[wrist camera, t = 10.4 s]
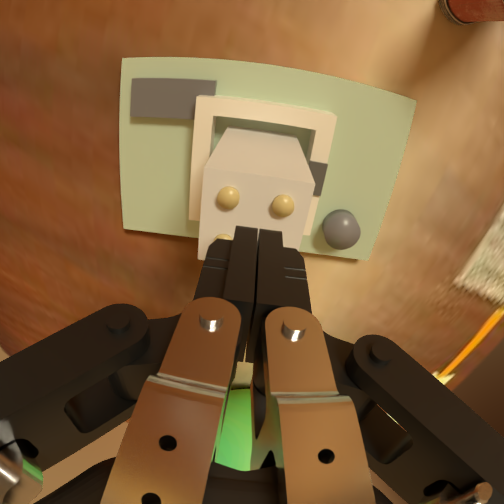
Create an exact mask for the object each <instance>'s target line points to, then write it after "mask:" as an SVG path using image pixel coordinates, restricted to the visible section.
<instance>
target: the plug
mask: <svg viewBox="0 0 504 504" xmlns="http://www.w3.org/2000/svg"><path fill="white" fill-rule="evenodd" d="M314 188H315V182H314V179H313V176H312V174H311V171H310V169H309V166H308V164H307V161H306V158H305V156H304V153H303V151H302V148H301V146H300V144H299V141H298V139H297V136H296V135H291V134H285V133H279V132H273V131H267V130H260V129H253V128H246V127H238V126H230V125H229V126H228V127H227V129H226V131H225V132H224V134H223V136H222V137H221V139H220V141H219V142H218V144H217V146H216V148H215V149H214V151H213V153H212V154H211V156H210V158H209V160H208V161H207V163H206V165H205V167H204V175H203V187H202V199H201V213H200V228H199V245H198V259H199V260H205V257H206V253H207V250H208V246H209V245H210V244H212V243H213V242H214V241H215V240H216V239H217V238H220V239H227V240H233V238H234V233H235V227H236V225H237V226H245V227H252V228H258V234H259V229H268V230H275V231H282V236H283V247H288V248H296V249H297V250H298V251H299V248H300V244H301V240H302V236H303V232H304V228H305V224H306V220H307V216H308V212H309V208H310V204H311V200H312V196H313V192H314ZM257 240H258V238H257Z"/></svg>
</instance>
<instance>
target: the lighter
mask: <svg viewBox="0 0 504 504" xmlns="http://www.w3.org/2000/svg"><path fill="white" fill-rule="evenodd" d="M439 5H440V8H441V10H442V12H443V14H444V15H445V16H446V18H447V19H448V20H449V21H451V22H452V23H454V24H456V25H470V24H473V23H477V22H481V21H504V0H439Z"/></svg>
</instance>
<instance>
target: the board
mask: <svg viewBox="0 0 504 504" xmlns="http://www.w3.org/2000/svg"><path fill="white" fill-rule="evenodd" d="M416 103H417V100H414V99H411V98H408V97H405V96H402V95H399V94H396V93H393V92H390V91H386V90H383V89H380V88H376V87H373V86H369V85H366V84H362V83H358V82H354V81H350V80H346V79H342V78H338V77H334V76H329V75H325V74H320V73H315V72H310V71H305V70H300V69H294V68H288V67H282V66H275V65H268V64H261V63H253V62H244V61H234V60H223V59H208V58H186V57H141V58H122V68H121V86H120V117H119V149H120V181H121V200H122V214H123V226H124V229H130V230H138V231H146V232H154V233H162V234H170V235H178V236H185V237H193V238H199V228H200V213H201V199H202V187H203V175H204V167H205V165H206V163H207V161H208V160H209V158H210V156H211V154H212V153H213V151H214V149H215V148H216V146H217V144H218V142H219V141H220V139H221V137H222V136H223V134H224V132H225V131H226V129H227V127H228V126H229V125H230V126H238V127H246V128H253V129H260V130H267V131H273V132H279V133H285V134H291V135H296V136H297V139H298V141H299V144H300V146H301V148H302V151H303V153H304V156H305V158H306V161H307V164H308V166H309V169H310V171H311V174H312V176H313V179H314V182H315V188H314V192H313V196H312V200H311V204H310V208H309V212H308V216H307V220H306V224H305V228H304V232H303V236H302V240H301V244H300V248H299V251H300V252H307V253H315V254H322V255H330V256H337V257H344V258H352V259H359V260H366V261H368V260H369V257H370V254H371V252H372V249H373V246H374V244H375V241H376V238H377V235H378V233H379V230H380V227H381V224H382V221H383V218H384V215H385V212H386V209H387V206H388V203H389V200H390V197H391V194H392V191H393V188H394V185H395V182H396V178H397V175H398V172H399V168H400V165H401V161H402V158H403V154H404V151H405V147H406V143H407V140H408V136H409V132H410V128H411V124H412V120H413V116H414V112H415V108H416Z"/></svg>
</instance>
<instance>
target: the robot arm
mask: <svg viewBox="0 0 504 504" xmlns="http://www.w3.org/2000/svg"><path fill="white" fill-rule="evenodd" d="M257 238H258V240H257ZM246 342H247V345H246ZM245 348H246V359H245V362H249V363H253V376H252V380H251V384H250V395H251V424H252V451H251V460H250V471H240V470H236V469H233V468H230V467H227V466H225V465H222V464H219V463H216V461H217V456H218V450H219V444H220V439H221V434H222V429H223V424H224V419H225V414H226V409H227V404H228V399H229V394H230V389H231V384H232V382H233V380H234V378H235V374H236V368H237V362H238V361H239V362H243V359H244V353H245ZM377 404H378V405H379V406H380V407H381V408H382V409H383V410H384V411H385V412H387V413H388V414H389V415H390V416H391V417H392V418H393V419H394V420H395V421H396V422H397V423H398V424H400V425H401V426H402V427H403V428H404V429H405V430H406V431H407V432H406V431H405V430H404V429H402V428H401V427H400V426H399V425H398V424H397V423H396V422H395V421H394V420H393V419H392V418H391V417H389V416H388V415H387V414H386V413H385V412H384V411H383V410H382V409H381V408H380V407H379V406H378V405H377ZM130 417H131V419H130V421H129V424H128V427H127V429H126V432H125V435H124V437H123V440H122V443H121V445H120V448H119V451H118V454H117V456H116V457H114V458H110V459H108V460H104V461H102V462H100V463H98V464H96V465H94V466H92V467H90V468H89V469H87V470H86V471H84V472H83V473H81V474H80V475H78V476H77V477H76V478H74V479H72V480H71V481H69V482H68V483H66V484H64V485H63V486H61V487H60V488H58V489H57V490H55V491H54V492H52V493H50V494H49V495H47V496H46V497H44V498H42V499H40V500H39V501H37V502H36V503H34V504H393V503H392V502H391V501H390V500H389V499H388V498H387V497H386V496H385V495H384V494H383V493H382V492H381V491H380V490H378V489H377V488H376V487H374V486H373V485H372V481H371V476H370V471H369V468H370V469H371V470H372V471H374V472H375V473H376V474H377V475H378V476H379V477H380V478H381V479H382V480H383V481H384V482H385V483H386V484H387V485H388V486H389V487H391V488H392V489H393V490H394V491H395V492H396V493H397V494H398V495H399V496H400V497H402V498H403V499H404V500H405V501H406V502H407V503H408V504H504V438H503V437H502V436H501V435H500V434H499V433H498V432H496V430H494V429H493V428H492V427H491V426H490V425H489V424H487V422H485V421H484V420H483V419H482V418H481V417H480V416H479V415H478V414H476V413H475V412H474V411H473V410H472V409H471V408H470V407H469V406H467V405H466V404H465V403H464V402H463V401H462V400H460V399H459V398H458V397H457V396H456V395H455V394H454V393H452V392H451V391H450V390H449V389H448V388H447V387H446V386H444V385H443V384H442V383H441V382H440V381H439V380H438V379H436V378H435V377H434V376H433V375H432V374H431V373H429V372H428V371H427V370H426V369H425V368H424V367H422V366H421V365H420V364H419V363H418V362H417V361H415V360H414V359H413V358H412V357H411V356H410V355H408V354H407V353H406V352H405V351H404V350H402V349H401V348H400V347H399V346H398V345H397V344H395V343H394V342H393V341H391V340H390V339H388V338H386V337H383V336H380V335H366V336H363V337H361V338H359V339H358V340H357V342H356V343H355V344H352V343H349V342H346V341H343V340H340V339H337V338H334V337H332V336H330V335H328V334H327V333H325V332H324V331H323V330H322V326H321V324H320V322H319V321H318V319H317V318H316V317H315V316H314V315H312V311H311V303H310V296H309V289H308V283H307V276H306V271H305V263H304V258H303V257H302V256H301V254H300V253H299V252H298V250H297V249H296V248H288V247H283V236H282V231H275V230H268V229H259V234H258V228H252V227H245V226H237V225H236V227H235V233H234V238H233V240H227V239H220V238H217V239H216V240H215V241H214V242H213V243H212V244H210V245H209V246H208V250H207V253H206V257H205V260H204V264H203V267H202V271H201V274H200V278H199V281H198V285H197V288H196V292H195V296H194V299H193V301H192V302H190V303H189V304H187V305H186V307H185V308H184V310H183V312H182V313H181V314H179V315H176V316H173V317H169V318H161V319H150V320H147V317H146V315H145V314H144V312H143V311H142V310H140V309H139V308H137V307H135V306H133V305H129V304H113V305H110V306H107V307H105V308H103V309H101V310H99V311H97V312H95V313H93V314H91V315H89V316H87V317H85V318H83V319H81V320H79V321H77V322H75V323H73V324H71V325H70V326H68V327H66V328H64V329H62V330H60V331H58V332H56V333H54V334H52V335H50V336H48V337H47V338H45V339H43V340H41V341H39V342H37V343H35V344H33V345H31V346H29V347H28V348H26V349H24V350H22V351H20V352H18V353H16V354H14V355H12V356H11V357H9V358H7V359H5V360H3V361H1V362H0V504H29V503H30V501H32V500H33V499H34V498H35V497H36V496H37V495H38V494H39V493H40V492H41V491H42V485H43V475H42V472H43V471H45V470H46V469H48V468H50V467H51V466H53V465H55V464H57V463H58V462H60V461H62V460H63V459H65V458H67V457H69V456H70V455H72V454H74V453H75V452H77V451H78V450H80V449H81V448H83V447H85V446H87V445H88V444H90V443H92V442H93V441H95V440H96V439H98V438H99V437H101V436H103V435H104V434H105V433H107V432H109V431H111V430H112V429H113V428H115V427H117V426H118V425H120V424H121V423H123V422H124V421H126V420H127V419H129V418H130Z"/></svg>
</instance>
